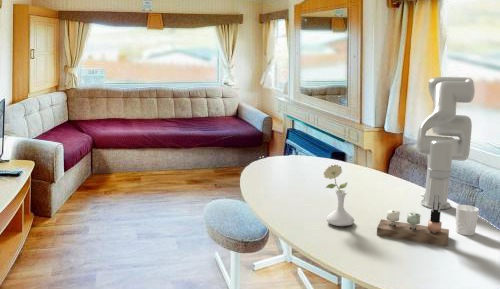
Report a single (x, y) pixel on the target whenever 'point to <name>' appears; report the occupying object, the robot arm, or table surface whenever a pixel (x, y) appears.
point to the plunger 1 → (393, 216)
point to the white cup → (466, 219)
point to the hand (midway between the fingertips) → (434, 221)
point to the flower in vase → (339, 215)
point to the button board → (412, 233)
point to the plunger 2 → (413, 219)
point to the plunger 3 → (434, 226)
